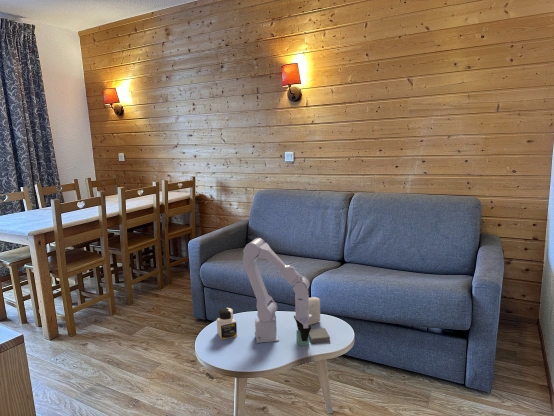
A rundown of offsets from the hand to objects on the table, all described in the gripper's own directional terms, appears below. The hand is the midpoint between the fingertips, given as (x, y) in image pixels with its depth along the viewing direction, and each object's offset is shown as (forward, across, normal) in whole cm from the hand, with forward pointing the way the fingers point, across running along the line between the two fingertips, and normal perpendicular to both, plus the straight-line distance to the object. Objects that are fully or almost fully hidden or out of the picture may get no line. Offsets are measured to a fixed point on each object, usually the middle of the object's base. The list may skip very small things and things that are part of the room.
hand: (302, 336), depth 162 cm
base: (+3, +2, -7) cm, 8 cm away
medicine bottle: (+3, +12, +32) cm, 35 cm away
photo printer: (+3, +16, -7) cm, 18 cm away
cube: (+3, 0, 0) cm, 3 cm away
